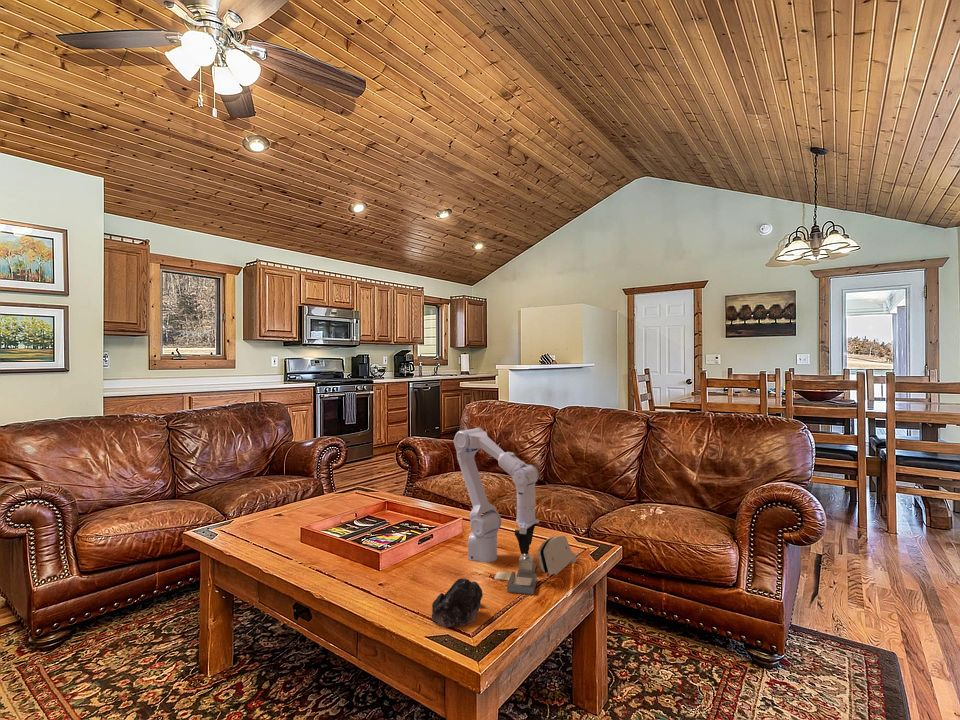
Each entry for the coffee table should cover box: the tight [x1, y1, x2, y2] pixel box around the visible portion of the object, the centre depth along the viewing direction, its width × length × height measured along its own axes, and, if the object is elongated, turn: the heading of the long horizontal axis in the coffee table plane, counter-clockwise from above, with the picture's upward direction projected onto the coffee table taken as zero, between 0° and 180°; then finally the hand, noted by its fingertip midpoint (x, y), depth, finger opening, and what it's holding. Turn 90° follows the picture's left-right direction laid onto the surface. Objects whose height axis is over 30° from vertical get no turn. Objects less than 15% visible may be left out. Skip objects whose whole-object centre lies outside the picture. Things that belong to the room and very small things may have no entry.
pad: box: [493, 571, 512, 581], centre depth 150 cm, size 5×5×1 cm
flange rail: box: [506, 563, 538, 596], centre depth 148 cm, size 8×19×3 cm, turn 167°
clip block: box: [518, 552, 535, 574], centre depth 153 cm, size 4×4×5 cm
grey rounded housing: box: [536, 535, 578, 576], centre depth 159 cm, size 17×5×10 cm, turn 146°
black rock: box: [430, 577, 483, 628], centre depth 129 cm, size 13×14×10 cm
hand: (526, 548), depth 153 cm, fingers open, 7 cm apart
